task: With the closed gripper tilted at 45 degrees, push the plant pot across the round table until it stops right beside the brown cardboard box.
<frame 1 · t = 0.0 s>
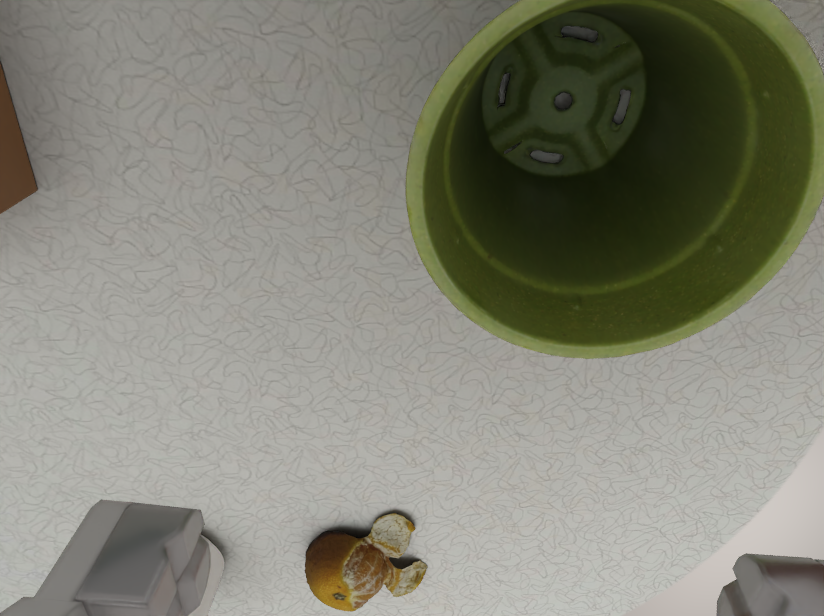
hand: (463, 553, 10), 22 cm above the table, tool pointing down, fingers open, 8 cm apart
beverage can: (188, 546, 46), on the table
fruit: (376, 551, 45), on the table
plant pot: (558, 99, 28), on the table
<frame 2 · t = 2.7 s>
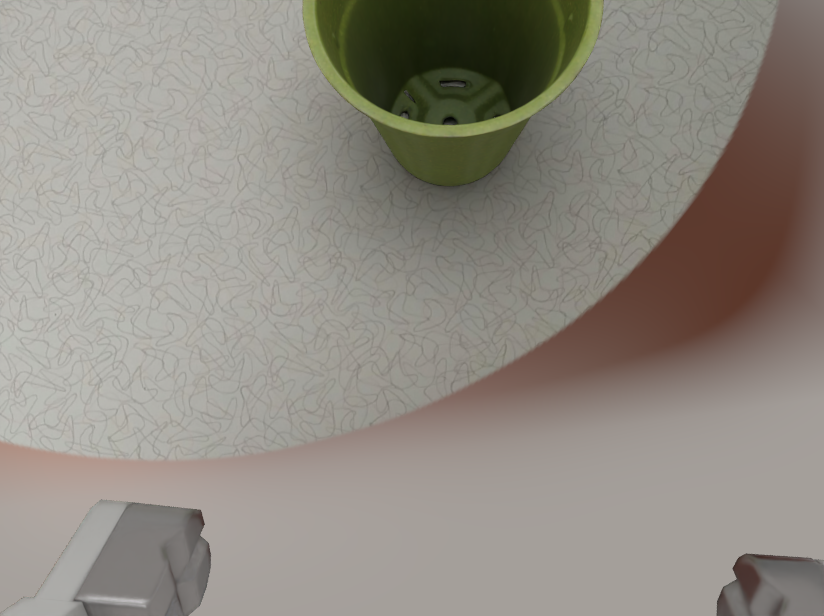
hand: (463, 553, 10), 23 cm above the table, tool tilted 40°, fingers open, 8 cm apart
plant pot: (447, 128, 36), on the table
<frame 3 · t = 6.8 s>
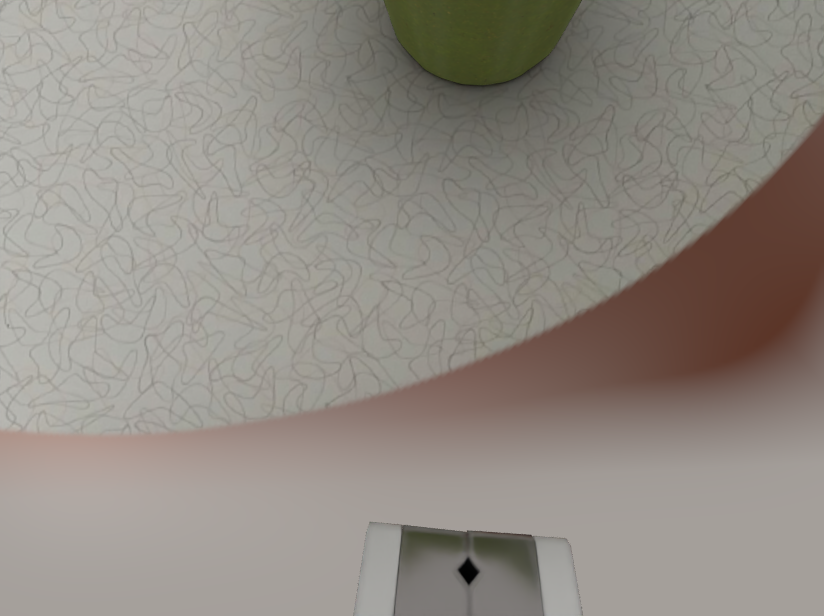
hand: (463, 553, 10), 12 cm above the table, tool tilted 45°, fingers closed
plant pot: (473, 13, 26), on the table
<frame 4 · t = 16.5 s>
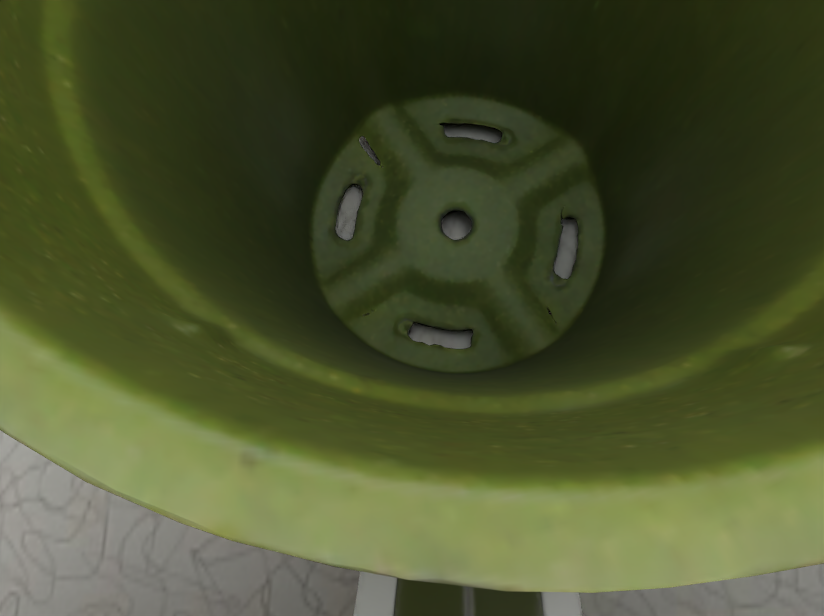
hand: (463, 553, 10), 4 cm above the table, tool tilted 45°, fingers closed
plant pot: (449, 233, 15), on the table
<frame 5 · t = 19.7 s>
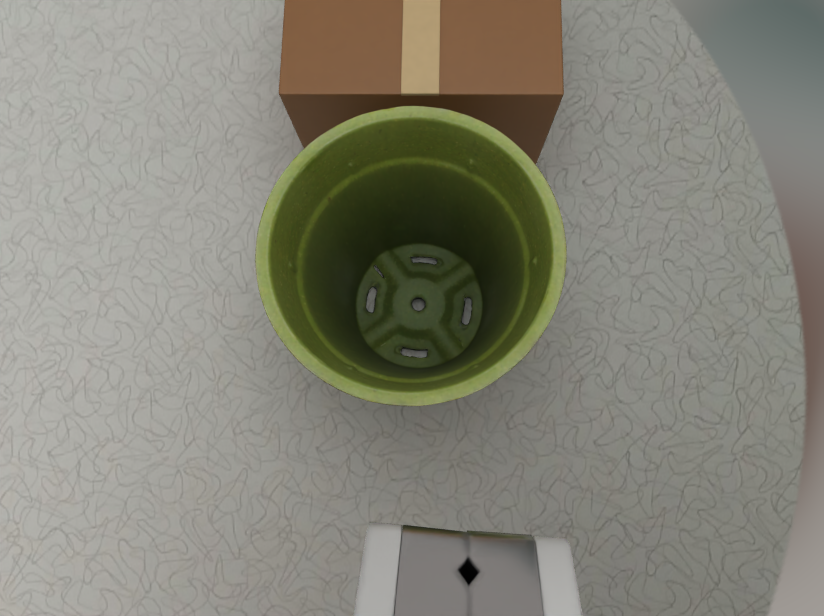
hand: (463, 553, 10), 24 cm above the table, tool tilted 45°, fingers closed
carton: (424, 90, 37), on the table
plant pot: (416, 305, 35), on the table
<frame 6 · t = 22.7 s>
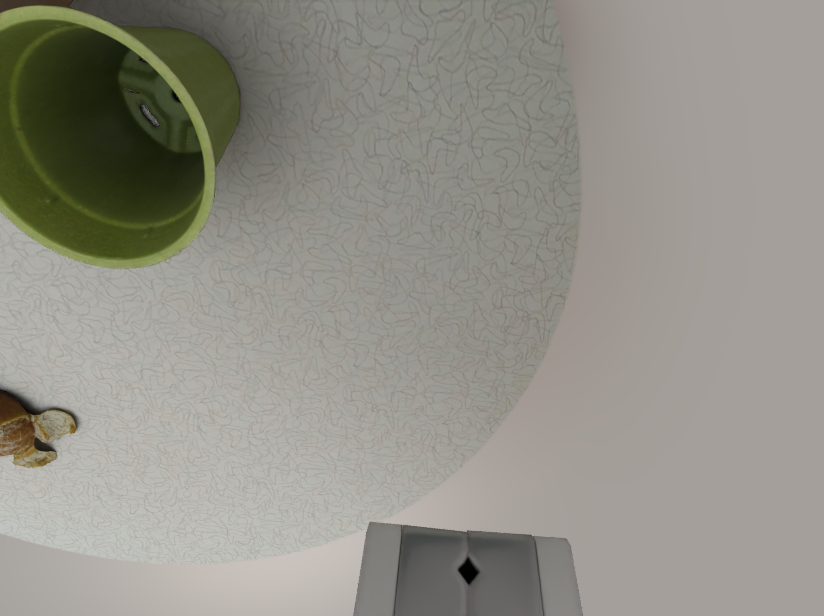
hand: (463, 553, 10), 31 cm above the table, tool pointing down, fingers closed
fruit: (27, 426, 53), on the table
plant pot: (181, 92, 37), on the table
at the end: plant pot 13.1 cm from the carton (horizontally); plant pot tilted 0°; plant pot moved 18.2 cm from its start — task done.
